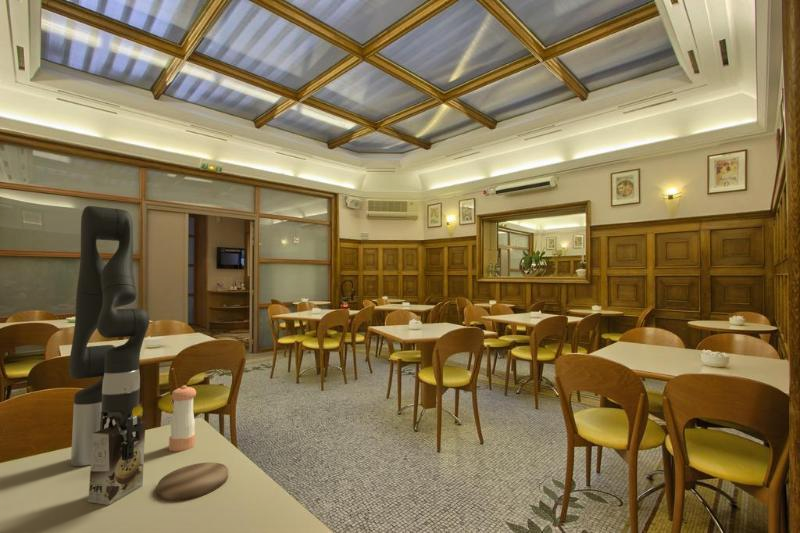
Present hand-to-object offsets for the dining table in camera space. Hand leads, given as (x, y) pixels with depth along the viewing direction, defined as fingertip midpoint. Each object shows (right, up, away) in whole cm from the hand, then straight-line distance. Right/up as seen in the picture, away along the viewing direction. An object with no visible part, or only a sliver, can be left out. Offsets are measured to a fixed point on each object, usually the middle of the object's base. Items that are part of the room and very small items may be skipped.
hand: (118, 455), depth 91 cm
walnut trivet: (+16, -9, +4) cm, 19 cm away
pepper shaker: (0, -11, +27) cm, 29 cm away
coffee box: (0, -9, 0) cm, 9 cm away
